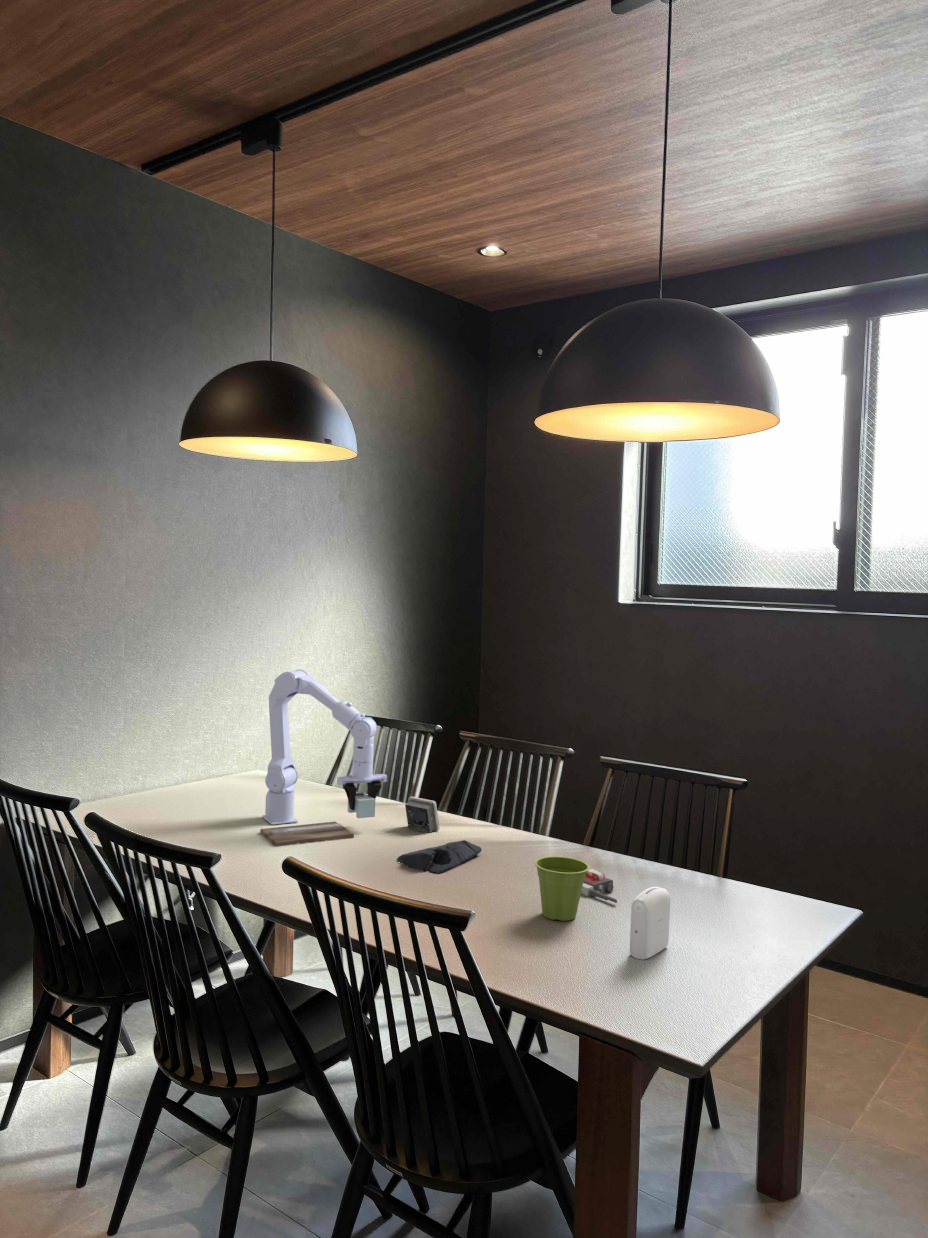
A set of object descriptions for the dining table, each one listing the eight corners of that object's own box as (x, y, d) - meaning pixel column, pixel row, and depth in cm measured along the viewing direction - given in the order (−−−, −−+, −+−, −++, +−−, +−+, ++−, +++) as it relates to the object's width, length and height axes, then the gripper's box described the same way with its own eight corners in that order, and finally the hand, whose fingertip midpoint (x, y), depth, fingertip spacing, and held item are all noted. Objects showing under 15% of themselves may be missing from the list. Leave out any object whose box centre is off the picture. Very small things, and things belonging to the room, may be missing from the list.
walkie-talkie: (550, 883, 217) (612, 908, 201) (551, 865, 217) (613, 889, 201) (576, 877, 223) (639, 901, 207) (577, 859, 222) (639, 882, 207)
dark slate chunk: (491, 858, 235) (492, 840, 235) (435, 877, 218) (436, 858, 218) (446, 846, 245) (447, 829, 245) (390, 863, 228) (390, 844, 228)
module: (347, 811, 259) (348, 792, 259) (363, 810, 261) (364, 791, 261) (358, 818, 252) (359, 798, 252) (374, 816, 255) (375, 797, 254)
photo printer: (645, 962, 172) (648, 898, 171) (626, 956, 174) (628, 892, 174) (671, 947, 180) (674, 885, 179) (651, 941, 182) (654, 880, 182)
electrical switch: (440, 831, 259) (439, 799, 257) (429, 836, 254) (429, 804, 253) (413, 825, 264) (413, 794, 263) (403, 830, 259) (402, 799, 258)
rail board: (260, 832, 250) (260, 825, 250) (335, 825, 261) (335, 818, 260) (275, 846, 238) (276, 838, 238) (353, 837, 248) (354, 830, 248)
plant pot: (573, 930, 186) (575, 876, 186) (522, 917, 193) (524, 865, 192) (596, 914, 196) (598, 863, 196) (547, 902, 203) (549, 852, 202)
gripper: (344, 765, 249) (342, 814, 250) (392, 762, 256) (390, 809, 257) (335, 760, 255) (333, 808, 256) (381, 757, 262) (380, 803, 263)
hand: (361, 808), depth 257 cm, fingers closed on module, 5 cm apart
